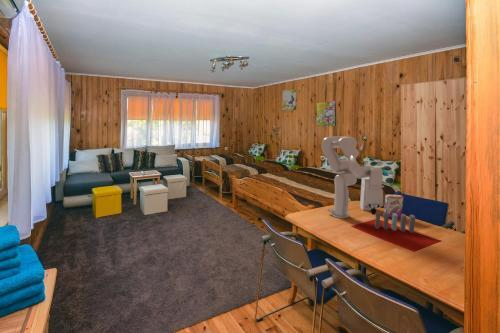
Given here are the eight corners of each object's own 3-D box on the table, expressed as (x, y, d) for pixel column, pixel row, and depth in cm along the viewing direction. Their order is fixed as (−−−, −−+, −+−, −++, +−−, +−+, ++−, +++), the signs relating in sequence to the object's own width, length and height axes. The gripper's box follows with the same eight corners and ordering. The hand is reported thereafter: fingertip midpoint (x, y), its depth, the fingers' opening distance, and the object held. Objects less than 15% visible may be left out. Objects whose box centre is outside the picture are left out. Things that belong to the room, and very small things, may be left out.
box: (362, 210, 224) (365, 179, 220) (359, 207, 232) (361, 176, 228) (374, 210, 223) (376, 179, 219) (370, 207, 231) (372, 177, 227)
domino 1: (375, 228, 186) (376, 213, 184) (374, 225, 191) (376, 211, 189) (379, 228, 185) (380, 214, 184) (378, 226, 190) (379, 211, 188)
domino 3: (392, 230, 183) (394, 215, 181) (391, 227, 188) (392, 213, 186) (396, 230, 182) (397, 215, 181) (394, 227, 187) (396, 213, 185)
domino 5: (410, 232, 180) (411, 217, 178) (408, 229, 185) (409, 214, 183) (413, 232, 179) (415, 217, 178) (411, 229, 184) (413, 214, 182)
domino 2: (384, 229, 184) (385, 214, 183) (383, 226, 189) (384, 212, 187) (387, 229, 184) (388, 214, 182) (386, 227, 188) (387, 212, 187)
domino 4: (401, 231, 181) (402, 216, 180) (399, 228, 186) (401, 213, 184) (404, 231, 181) (406, 216, 179) (403, 228, 186) (404, 214, 184)
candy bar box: (385, 218, 206) (387, 196, 203) (383, 215, 211) (384, 194, 208) (401, 218, 205) (403, 196, 202) (398, 216, 209) (400, 194, 207)
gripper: (387, 186, 186) (384, 213, 188) (362, 184, 190) (360, 211, 193) (388, 189, 179) (386, 217, 181) (363, 187, 183) (361, 214, 186)
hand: (373, 214), depth 187 cm, fingers closed
